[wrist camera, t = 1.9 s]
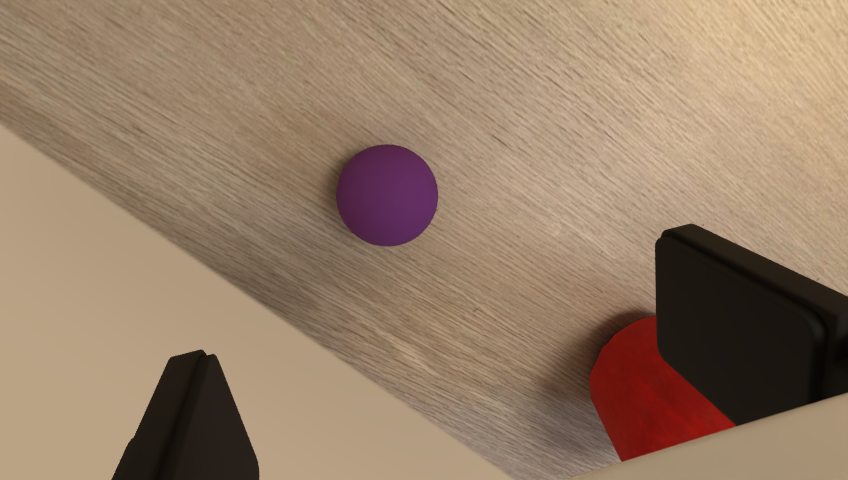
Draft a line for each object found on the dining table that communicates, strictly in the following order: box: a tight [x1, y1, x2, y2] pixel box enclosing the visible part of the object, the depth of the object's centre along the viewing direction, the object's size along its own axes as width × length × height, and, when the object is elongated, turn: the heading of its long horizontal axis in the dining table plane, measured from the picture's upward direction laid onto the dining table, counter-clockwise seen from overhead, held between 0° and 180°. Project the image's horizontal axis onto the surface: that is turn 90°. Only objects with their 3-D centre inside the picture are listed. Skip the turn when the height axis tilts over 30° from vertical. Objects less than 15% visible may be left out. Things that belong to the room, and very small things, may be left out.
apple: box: [589, 316, 736, 462], centre depth 30 cm, size 11×10×14 cm
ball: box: [336, 145, 438, 246], centre depth 26 cm, size 5×5×5 cm
